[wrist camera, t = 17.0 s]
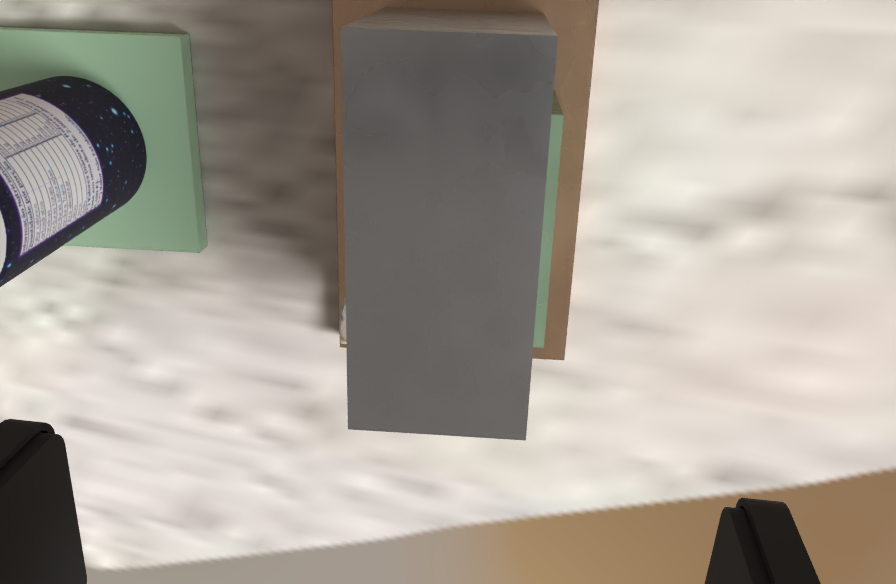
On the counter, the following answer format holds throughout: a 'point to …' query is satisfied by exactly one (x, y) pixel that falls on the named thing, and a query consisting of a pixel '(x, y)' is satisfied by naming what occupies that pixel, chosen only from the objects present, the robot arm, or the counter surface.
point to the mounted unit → (456, 204)
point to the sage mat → (156, 111)
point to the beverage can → (62, 165)
